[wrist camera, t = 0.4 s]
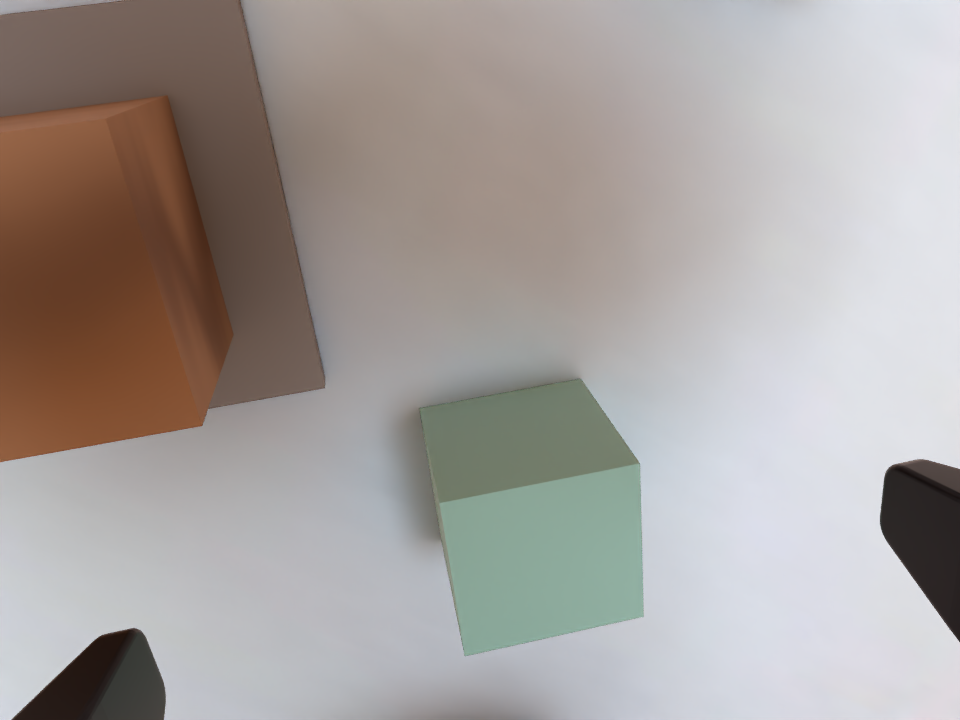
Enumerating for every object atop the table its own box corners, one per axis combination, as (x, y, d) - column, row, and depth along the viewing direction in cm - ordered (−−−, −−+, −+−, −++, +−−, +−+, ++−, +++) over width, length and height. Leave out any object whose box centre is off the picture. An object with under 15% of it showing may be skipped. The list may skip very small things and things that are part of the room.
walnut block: (233, 334, 19) (202, 425, 15) (-6, 374, 19) (-115, 482, 14) (167, 95, 17) (105, 118, 12) (-112, 131, 16) (-285, 170, 12)
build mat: (325, 378, 21) (324, 388, 21) (-46, 444, 20) (-57, 455, 19) (237, -11, 17) (234, -12, 16) (-239, 44, 16) (-259, 44, 15)
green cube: (587, 510, 25) (643, 616, 20) (441, 540, 24) (465, 656, 20) (580, 377, 23) (639, 463, 18) (418, 407, 22) (439, 503, 18)
